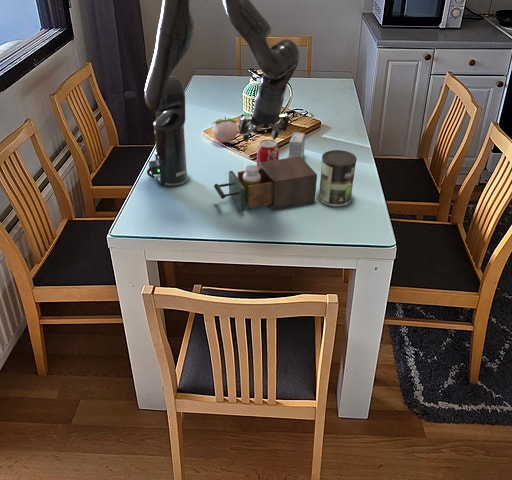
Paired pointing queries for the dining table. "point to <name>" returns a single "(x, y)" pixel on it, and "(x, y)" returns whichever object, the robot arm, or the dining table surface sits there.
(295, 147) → the medicine box
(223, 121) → the decorative fruit
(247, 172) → the supplement bottle
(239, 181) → the drawer
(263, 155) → the soda can
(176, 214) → the dining table surface
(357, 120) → the dining table surface
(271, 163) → the cabinet
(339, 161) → the coffee can
